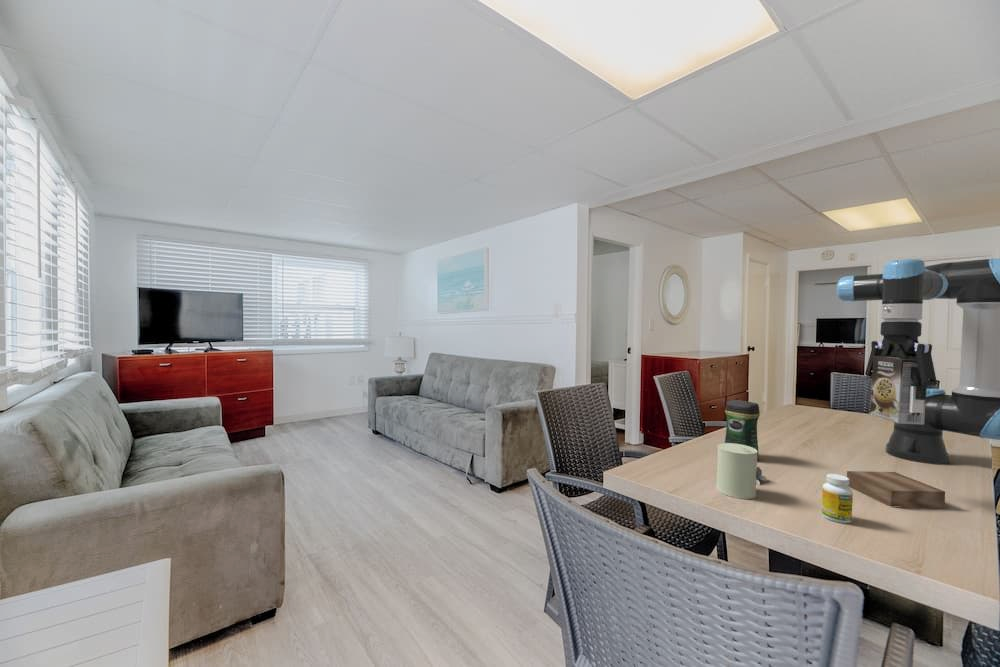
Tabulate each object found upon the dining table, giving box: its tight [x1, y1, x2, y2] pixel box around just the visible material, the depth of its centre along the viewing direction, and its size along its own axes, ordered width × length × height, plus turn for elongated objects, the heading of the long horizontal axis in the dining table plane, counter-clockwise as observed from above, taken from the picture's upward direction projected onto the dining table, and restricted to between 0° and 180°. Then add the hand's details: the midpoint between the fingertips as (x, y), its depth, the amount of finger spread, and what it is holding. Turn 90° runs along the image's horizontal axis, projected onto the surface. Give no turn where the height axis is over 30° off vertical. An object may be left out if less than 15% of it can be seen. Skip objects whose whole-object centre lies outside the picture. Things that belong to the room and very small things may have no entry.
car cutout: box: [756, 466, 767, 486], centre depth 118 cm, size 15×7×4 cm, turn 127°
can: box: [715, 442, 759, 500], centre depth 108 cm, size 9×9×12 cm
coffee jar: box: [724, 399, 761, 459], centre depth 137 cm, size 10×8×19 cm
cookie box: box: [870, 356, 926, 425], centre depth 106 cm, size 9×6×16 cm
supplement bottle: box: [821, 473, 854, 524], centre depth 94 cm, size 5×5×10 cm
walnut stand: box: [846, 470, 946, 509], centre depth 107 cm, size 13×13×4 cm
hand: (896, 408), depth 106 cm, fingers closed on cookie box, 9 cm apart
